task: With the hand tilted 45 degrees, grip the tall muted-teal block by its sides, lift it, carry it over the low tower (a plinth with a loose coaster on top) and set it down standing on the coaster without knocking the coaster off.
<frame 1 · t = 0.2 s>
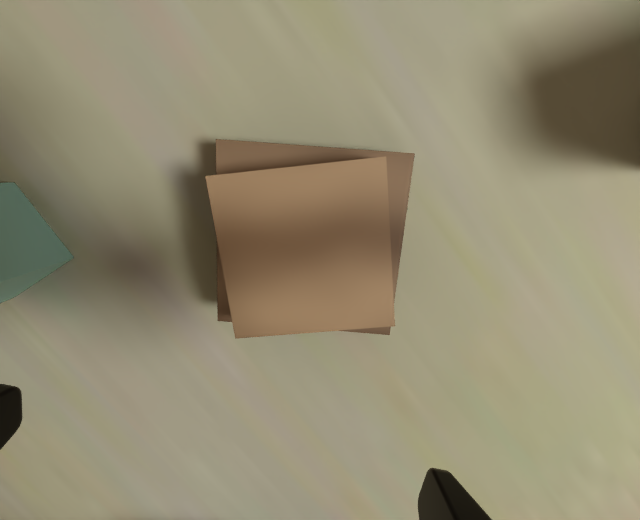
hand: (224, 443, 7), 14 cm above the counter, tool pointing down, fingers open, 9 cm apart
top coaster: (308, 243, 18), point 2 cm above the counter, touching base plinth
teal block: (13, 242, 21), on the counter
base plinth: (311, 235, 20), on the counter
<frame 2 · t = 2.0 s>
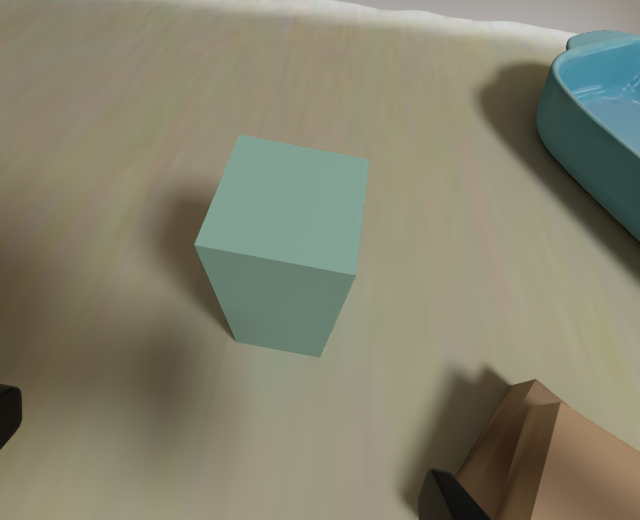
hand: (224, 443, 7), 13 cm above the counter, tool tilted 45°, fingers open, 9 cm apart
teal block: (286, 310, 23), on the counter
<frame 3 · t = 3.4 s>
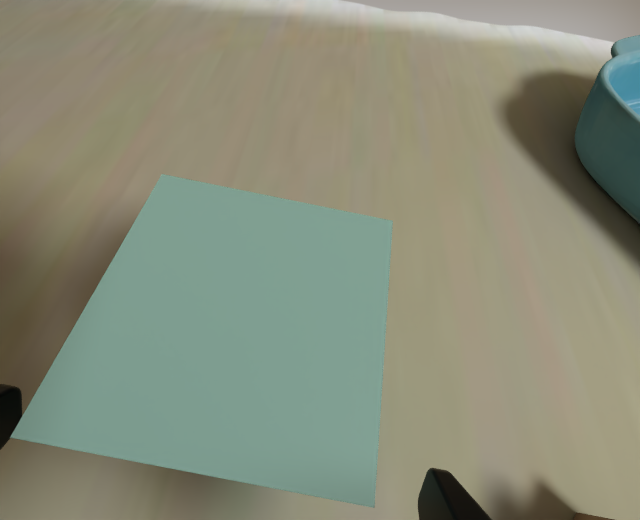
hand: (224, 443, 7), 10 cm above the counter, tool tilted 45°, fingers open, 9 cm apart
teal block: (264, 397, 17), on the counter
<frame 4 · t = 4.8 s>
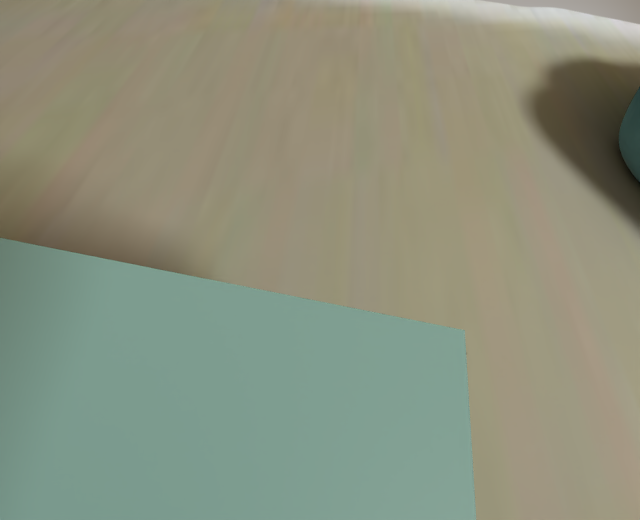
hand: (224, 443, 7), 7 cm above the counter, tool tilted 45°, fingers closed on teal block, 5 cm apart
teal block: (237, 489, 12), on the counter, touching gripper
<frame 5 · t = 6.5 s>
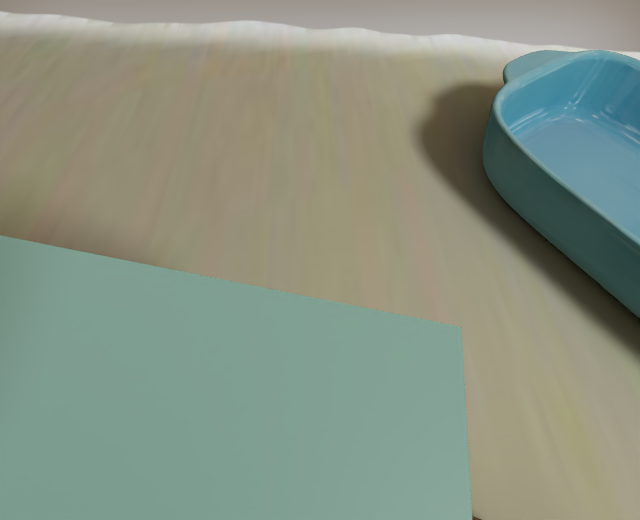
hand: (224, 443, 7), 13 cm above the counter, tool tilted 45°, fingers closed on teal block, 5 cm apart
casserole dish: (637, 238, 30), on the counter
teal block: (236, 488, 12), point 6 cm above the counter, touching gripper
when the fingers open (12 cm above the counter, at t = 8.4 s): teal block stays where it is, resting on top coaster.
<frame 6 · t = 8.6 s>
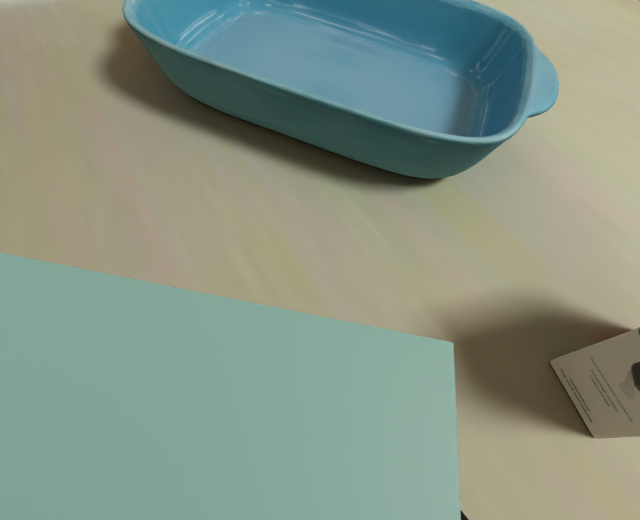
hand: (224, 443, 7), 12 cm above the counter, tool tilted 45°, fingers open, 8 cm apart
casserole dish: (330, 93, 34), on the counter
teal block: (237, 490, 12), point 5 cm above the counter, touching top coaster
ink box: (616, 379, 22), on the counter
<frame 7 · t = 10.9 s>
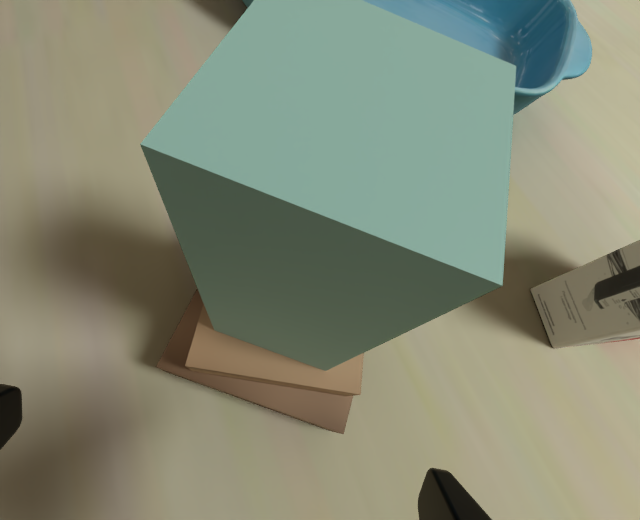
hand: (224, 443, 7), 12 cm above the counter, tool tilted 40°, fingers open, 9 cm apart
top coaster: (285, 310, 19), point 2 cm above the counter, touching base plinth, teal block
casserole dish: (382, 39, 36), on the counter
teal block: (290, 297, 17), point 5 cm above the counter, touching top coaster
base plinth: (281, 320, 21), on the counter
ink box: (580, 313, 26), on the counter
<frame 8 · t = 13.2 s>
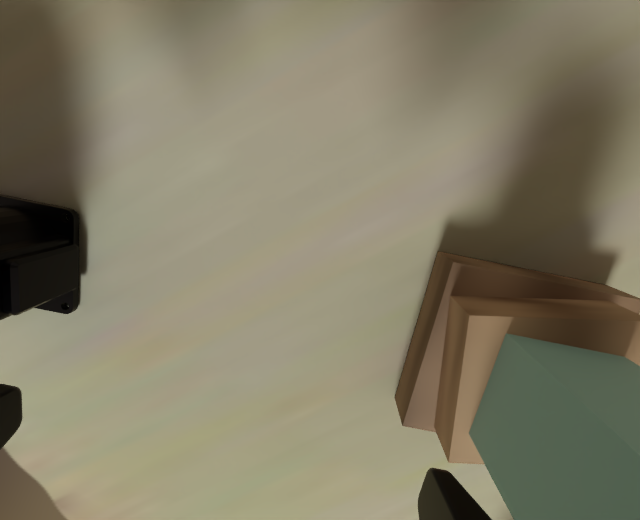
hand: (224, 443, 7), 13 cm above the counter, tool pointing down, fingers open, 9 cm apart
top coaster: (515, 367, 18), point 2 cm above the counter, touching base plinth, teal block
teal block: (543, 396, 16), point 5 cm above the counter, touching top coaster
base plinth: (494, 344, 20), on the counter
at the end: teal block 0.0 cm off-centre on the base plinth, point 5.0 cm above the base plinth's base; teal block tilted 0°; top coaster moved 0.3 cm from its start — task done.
